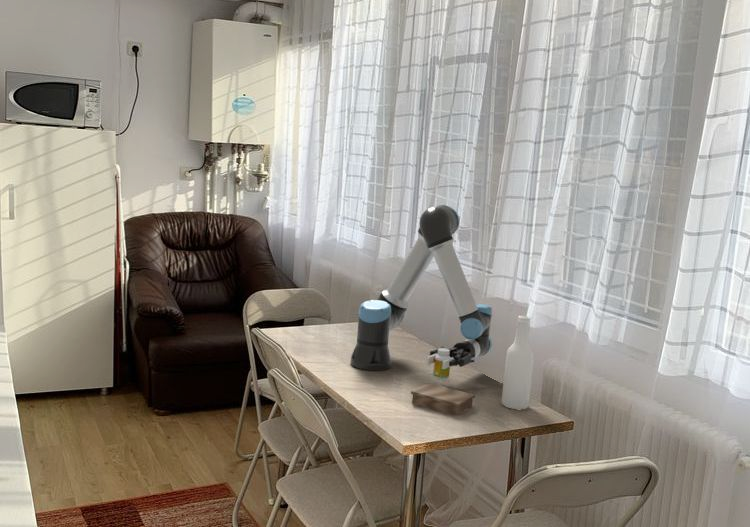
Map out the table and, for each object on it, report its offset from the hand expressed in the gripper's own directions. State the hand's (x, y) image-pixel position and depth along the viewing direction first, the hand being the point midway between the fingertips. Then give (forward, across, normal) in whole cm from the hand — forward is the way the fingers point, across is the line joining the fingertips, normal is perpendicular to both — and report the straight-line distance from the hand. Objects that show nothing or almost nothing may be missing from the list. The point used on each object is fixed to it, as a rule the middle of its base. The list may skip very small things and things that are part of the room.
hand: (435, 363), depth 264 cm
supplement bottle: (-5, 0, -6) cm, 8 cm away
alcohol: (-7, -27, -10) cm, 30 cm away
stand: (+10, -9, -10) cm, 17 cm away
